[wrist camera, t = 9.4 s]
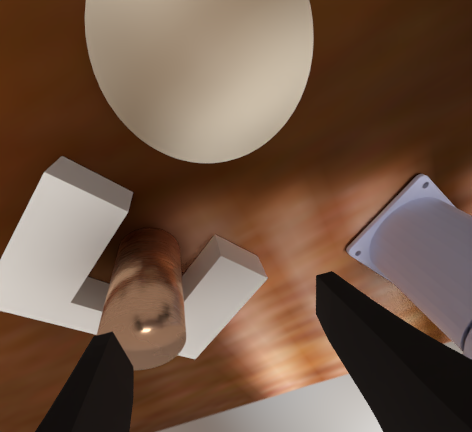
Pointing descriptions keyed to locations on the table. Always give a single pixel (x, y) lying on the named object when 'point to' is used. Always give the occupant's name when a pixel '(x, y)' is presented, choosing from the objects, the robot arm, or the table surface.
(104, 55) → the bobbin
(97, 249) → the notched board
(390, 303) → the table surface
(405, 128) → the table surface
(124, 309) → the copper peg
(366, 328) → the robot arm
